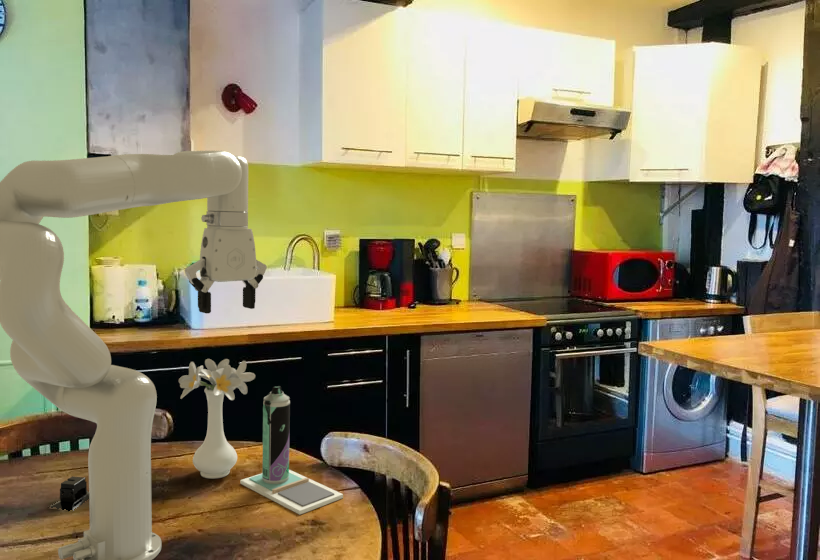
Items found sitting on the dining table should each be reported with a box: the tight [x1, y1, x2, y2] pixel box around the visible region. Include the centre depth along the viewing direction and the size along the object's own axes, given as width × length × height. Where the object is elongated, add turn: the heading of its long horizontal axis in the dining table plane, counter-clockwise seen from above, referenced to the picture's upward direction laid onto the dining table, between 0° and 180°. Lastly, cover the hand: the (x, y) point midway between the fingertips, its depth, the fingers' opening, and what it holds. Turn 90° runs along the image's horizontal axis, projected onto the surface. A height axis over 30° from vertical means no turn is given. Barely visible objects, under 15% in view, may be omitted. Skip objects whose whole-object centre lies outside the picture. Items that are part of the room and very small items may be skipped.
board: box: [240, 469, 344, 515], centre depth 142 cm, size 11×20×2 cm, turn 47°
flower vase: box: [178, 358, 256, 480], centre depth 149 cm, size 13×18×25 cm
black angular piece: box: [49, 476, 89, 512], centre depth 135 cm, size 12×7×5 cm, turn 171°
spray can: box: [261, 385, 291, 484], centre depth 144 cm, size 6×6×20 cm
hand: (227, 310), depth 133 cm, fingers open, 9 cm apart
